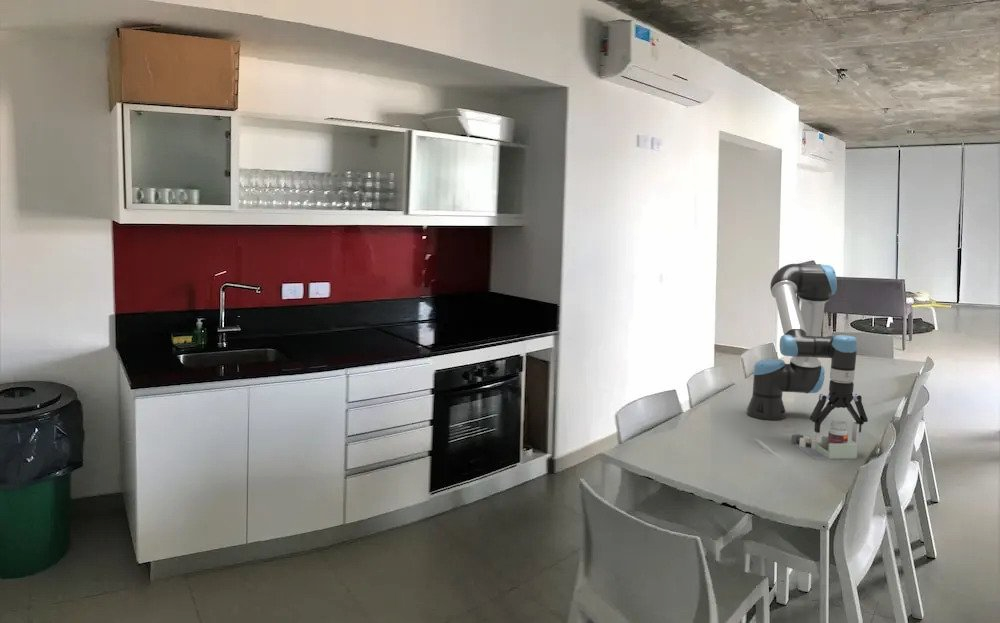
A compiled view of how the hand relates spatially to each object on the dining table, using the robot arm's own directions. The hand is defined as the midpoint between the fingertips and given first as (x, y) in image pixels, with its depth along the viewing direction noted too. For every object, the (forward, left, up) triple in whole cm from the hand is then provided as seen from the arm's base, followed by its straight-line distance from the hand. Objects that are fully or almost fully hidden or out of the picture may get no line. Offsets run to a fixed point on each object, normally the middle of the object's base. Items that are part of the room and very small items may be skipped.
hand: (836, 441), depth 253 cm
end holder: (0, 0, -4) cm, 4 cm away
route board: (-4, -3, -6) cm, 7 cm away
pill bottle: (0, 0, -5) cm, 5 cm away
